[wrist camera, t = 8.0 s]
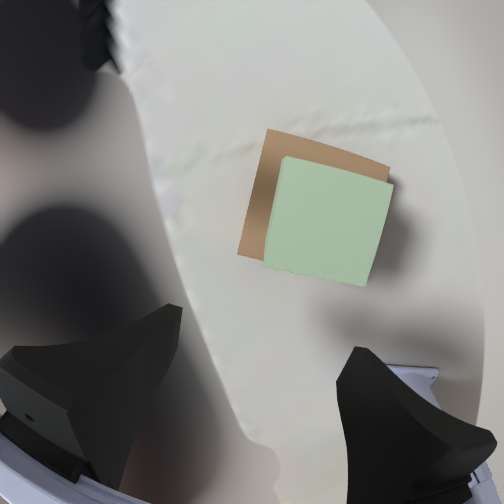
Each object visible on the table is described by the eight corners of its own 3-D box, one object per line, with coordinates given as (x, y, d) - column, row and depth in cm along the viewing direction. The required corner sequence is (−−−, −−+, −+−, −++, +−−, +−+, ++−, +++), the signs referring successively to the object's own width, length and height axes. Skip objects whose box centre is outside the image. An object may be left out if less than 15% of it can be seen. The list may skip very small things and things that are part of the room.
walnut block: (343, 267, 21) (354, 282, 18) (241, 242, 21) (237, 254, 18) (374, 166, 18) (390, 167, 16) (268, 134, 18) (267, 128, 15)
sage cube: (341, 255, 17) (364, 287, 13) (265, 239, 17) (262, 267, 13) (361, 178, 16) (393, 185, 11) (282, 159, 16) (286, 156, 11)
